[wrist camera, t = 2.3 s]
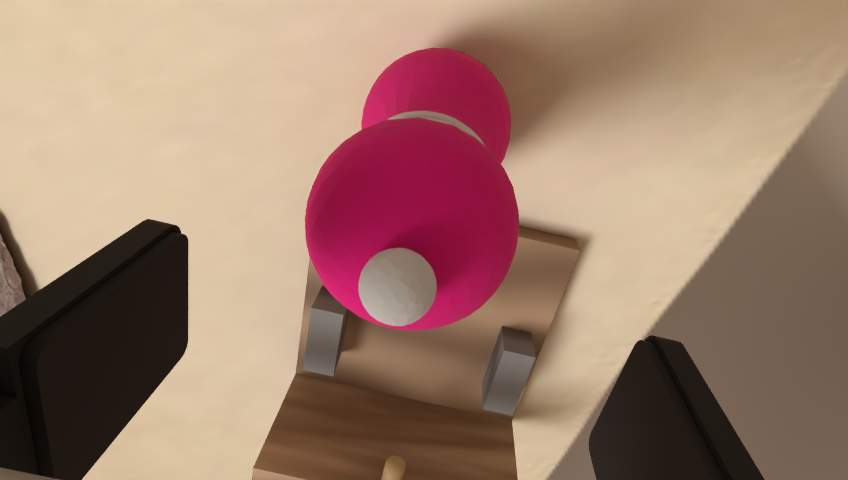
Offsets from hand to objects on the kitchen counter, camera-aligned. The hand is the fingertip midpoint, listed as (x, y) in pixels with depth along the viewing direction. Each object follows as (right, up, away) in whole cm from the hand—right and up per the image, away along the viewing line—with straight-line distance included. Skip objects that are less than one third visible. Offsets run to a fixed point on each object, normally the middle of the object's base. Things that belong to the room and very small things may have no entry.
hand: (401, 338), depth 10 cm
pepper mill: (+1, +10, +18) cm, 21 cm away
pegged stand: (0, -3, +24) cm, 25 cm away
